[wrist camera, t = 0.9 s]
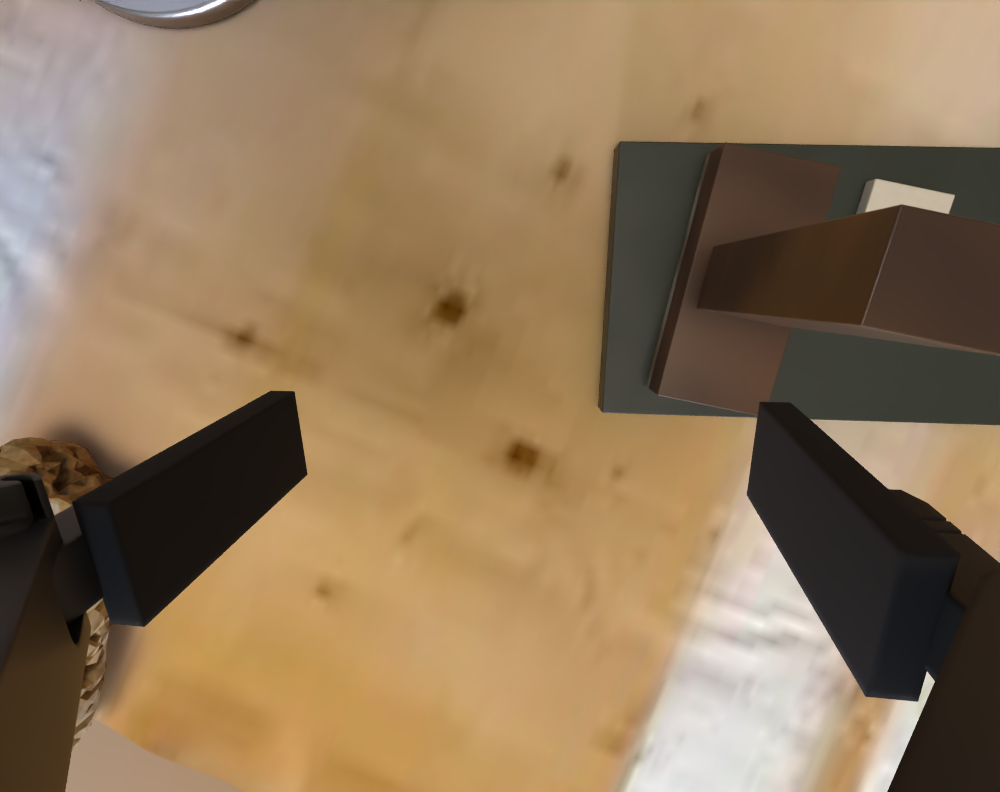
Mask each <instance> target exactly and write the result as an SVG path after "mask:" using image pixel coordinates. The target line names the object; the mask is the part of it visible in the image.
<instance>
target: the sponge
mask: <svg viewBox="0 0 1000 792" xmlns="http://www.w3.org/2000/svg"><path fill="white" fill-rule="evenodd" d="M16 473H36V474H39V475H41V477H42V480H43V483H44V486H45V489H46V492H47V495H48V498H49V501H50V504H51V507H52V510H53V513H54V515H56V514H58V513H60V512H61V511H63V510H65V509H67V508H68V507H70V506H72V505H73V504H72V501H74V500H76V499H78V498H79V497H81V496H83V495H85V494H87V493H88V492H90V491H92V490H94V489H96V488H97V487H99V486H101V485H103V484H105V483H106V482H108V481H110V480H112V479H113V478H110V477H107V476H104V475H103V473H102V472H101V471H100V470H99V469H98V468H97V466H96V463H95V461H94V459H93V458H92V456H91V454H90V453H89V451H88V449H86V448H83V447H81V446H79V445H77V444H76V443H72V442H64V441H57V440H54V441H47V440H45V439H40V438H30V437H29V438H22V439H15V440H12V441H10V442H8V443H7V444H5V445H3V446H1V447H0V476H3V475H9V474H16ZM86 612H87V615H88V618H89V621H90V624H91V633H90V639H89V646H88V652H87V658H86V664H85V671H84V677H83V683H82V689H81V695H80V702H79V708H78V714H77V720H76V727H75V733H74V739H73V745H72V749H73V748H74V747H76V746H77V744H78V742H79V741H80V739H81V737H82V736H83V735H84V733H85V732H86V731H87V729H88V728H89V727H90V726H91V723H92V719H93V715H94V713H95V710H96V707H97V703H98V699H99V695H100V690H101V686H102V684H103V681H104V671H105V668H106V641H107V639H108V634H109V629H110V624H111V623H110V620H109V617H108V614H107V611H106V608H105V605H104V602H103V598H102V599H101V600H100V601H98V602H97V603H96V604H95V605H93V606H92V607H91V608H90V609H88V610H87V611H86Z"/></svg>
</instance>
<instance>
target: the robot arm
mask: <svg viewBox="0 0 1000 792" xmlns="http://www.w3.org/2000/svg"><path fill="white" fill-rule="evenodd" d="M79 1H81V0H79ZM93 1H94V2H96V3H97V4H99V5H101V6H102V7H104V8H105V9H107V10H109V11H111V12H113V13H115V14H117V15H119V16H122V17H124V18H127V19H129V20H131V21H135V22H138V23H142V24H145V25H151V26H156V27H165V28H189V27H195V26H201V25H205V24H209V23H212V22H216V21H218V20H221V19H223V18H226V17H228V16H230V15H232V14H234V13H236V12H238V11H239V10H241V9H243V8H244V7H246V6H247V5H248V4H250V3H251V2H253V1H254V0H93ZM306 475H307V469H306V462H305V456H304V449H303V443H302V437H301V430H300V424H299V418H298V411H297V405H296V398H295V392H294V391H270V392H268V393H266V394H264V395H262V396H261V397H259V398H257V399H255V400H254V401H252V402H250V403H248V404H246V405H245V406H243V407H241V408H239V409H237V410H236V411H234V412H232V413H230V414H228V415H227V416H225V417H223V418H221V419H219V420H218V421H216V422H214V423H212V424H210V425H209V426H207V427H205V428H203V429H201V430H200V431H198V432H196V433H194V434H192V435H191V436H189V437H187V438H185V439H184V440H182V441H180V442H178V443H176V444H175V445H173V446H171V447H169V448H167V449H166V450H164V451H162V452H160V453H158V454H157V455H155V456H153V457H151V458H149V459H148V460H146V461H144V462H142V463H140V464H139V465H137V466H135V467H133V468H131V469H130V470H128V471H126V472H124V473H123V474H121V475H119V476H117V477H115V478H114V479H112V480H110V481H108V482H106V483H105V484H103V485H101V486H99V487H97V488H96V489H94V490H92V491H90V492H88V493H87V494H85V495H83V496H81V497H79V498H78V499H76V500H74V501H72V504H73V505H72V506H70V507H68V508H67V509H65V510H63V511H61V512H60V513H58V514H56V515H54V513H53V510H52V507H51V504H50V501H49V498H48V495H47V492H46V489H45V486H44V483H43V480H42V477H41V475H39V474H36V473H16V474H9V475H3V476H0V792H65V789H66V783H67V776H68V770H69V764H70V758H71V752H72V745H73V739H74V733H75V727H76V720H77V714H78V708H79V702H80V695H81V689H82V683H83V677H84V671H85V664H86V658H87V652H88V646H89V639H90V633H91V624H90V621H89V618H88V615H87V612H86V611H87V610H88V609H90V608H91V607H92V606H93V605H95V604H96V603H97V602H98V601H100V600H101V599H102V598H103V602H104V605H105V608H106V611H107V614H108V617H109V620H110V623H111V624H121V625H132V626H142V627H145V626H146V625H147V624H148V623H149V622H150V621H151V620H152V619H153V618H154V617H155V616H156V615H158V614H159V613H160V612H161V611H162V610H163V609H164V608H165V607H166V606H167V605H168V604H169V603H170V602H171V601H173V600H174V599H175V598H176V597H177V596H178V595H179V594H180V593H181V592H182V591H183V590H184V589H185V588H186V587H187V586H189V585H190V584H191V583H192V582H193V581H194V580H195V579H196V578H197V577H198V576H199V575H200V574H201V573H202V572H204V571H205V570H206V569H207V568H208V567H209V566H210V565H211V564H212V563H213V562H214V561H215V560H216V559H217V558H219V557H220V556H221V555H222V554H223V553H224V552H225V551H226V550H227V549H228V548H229V547H230V546H231V545H232V544H234V543H235V542H236V541H237V540H238V539H239V538H240V537H241V536H242V535H243V534H244V533H245V532H246V531H247V530H248V529H250V528H251V527H252V526H253V525H254V524H255V523H256V522H257V521H258V520H259V519H260V518H261V517H262V516H263V515H265V514H266V513H267V512H268V511H269V510H270V509H271V508H272V507H273V506H274V505H275V504H276V503H277V502H278V501H280V500H281V499H282V498H283V497H284V496H285V495H286V494H287V493H288V492H289V491H290V490H291V489H292V488H293V487H295V486H296V485H297V484H298V483H299V482H300V481H301V480H302V479H303V478H304V477H305V476H306ZM747 496H748V498H749V499H750V501H751V503H752V504H753V506H754V508H755V510H756V511H757V513H758V515H759V516H760V518H761V520H762V521H763V523H764V525H765V527H766V528H767V530H768V532H769V533H770V535H771V537H772V538H773V540H774V542H775V543H776V545H777V547H778V549H779V550H780V552H781V554H782V555H783V557H784V559H785V560H786V562H787V564H788V566H789V567H790V569H791V571H792V572H793V574H794V576H795V577H796V579H797V581H798V583H799V584H800V586H801V588H802V589H803V591H804V593H805V594H806V596H807V598H808V599H809V601H810V603H811V605H812V606H813V608H814V610H815V611H816V613H817V615H818V616H819V618H820V620H821V622H822V623H823V625H824V627H825V628H826V630H827V632H828V633H829V635H830V637H831V639H832V640H833V642H834V644H835V645H836V647H837V649H838V650H839V652H840V654H841V656H842V657H843V659H844V661H845V662H846V664H847V666H848V667H849V669H850V671H851V672H852V674H853V676H854V678H855V679H856V681H857V683H858V684H859V686H860V688H861V689H862V691H863V693H864V695H865V696H866V697H876V698H886V699H896V700H907V701H917V702H918V700H919V696H920V693H921V689H922V686H923V683H924V679H925V676H926V672H927V671H928V673H929V674H930V675H931V677H932V678H933V679H934V681H935V683H934V685H933V687H932V690H931V692H930V694H929V697H928V699H927V701H926V704H925V706H924V708H923V711H922V713H921V715H920V717H919V720H918V722H917V724H916V727H915V729H914V731H913V734H912V736H911V738H910V741H909V743H908V745H907V748H906V750H905V752H904V755H903V757H902V759H901V761H900V764H899V766H898V768H897V771H896V773H895V775H894V778H893V780H892V782H891V785H890V787H889V789H888V792H1000V563H999V562H998V561H997V560H995V559H994V558H993V557H992V556H991V555H989V554H988V553H987V552H986V551H985V550H983V549H982V548H981V547H980V546H979V545H977V544H976V543H975V542H974V541H972V540H971V539H970V538H969V537H968V536H966V535H964V534H961V531H960V530H959V529H958V528H957V527H956V526H954V525H953V524H952V523H951V522H948V521H946V518H945V517H944V516H942V515H941V514H940V513H939V512H938V511H936V510H935V509H934V508H933V507H932V506H930V505H929V504H928V503H926V502H924V501H922V500H920V499H918V498H916V497H914V496H912V495H910V494H908V493H906V492H904V491H902V490H889V489H887V488H886V487H885V486H884V485H883V484H882V483H881V482H879V481H878V480H877V479H876V478H875V477H874V476H873V475H872V474H870V473H869V472H868V471H867V470H866V469H865V468H864V467H863V466H861V465H860V464H859V463H858V462H857V461H856V460H855V459H854V458H853V457H851V456H850V455H849V454H848V453H847V452H846V451H845V450H844V449H842V448H841V447H840V446H839V445H838V444H837V443H836V442H835V441H833V440H832V439H831V438H830V437H829V436H828V435H827V434H826V433H825V432H823V431H822V430H821V429H820V428H819V427H818V426H817V425H816V424H814V423H813V422H812V421H811V420H810V419H809V418H808V417H807V416H805V415H804V414H803V413H802V412H801V411H800V410H799V409H798V408H797V407H795V406H794V405H793V404H792V403H791V402H759V410H758V417H757V425H756V432H755V439H754V447H753V454H752V461H751V469H750V476H749V483H748V491H747Z"/></svg>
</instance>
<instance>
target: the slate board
mask: <svg viewBox="0 0 1000 792" xmlns="http://www.w3.org/2000/svg"><path fill="white" fill-rule="evenodd" d="M722 144H724V143H682V142H623V141H621V142H619V144H618V145H617V147H616V148H615V150H614V164H613V180H612V196H611V212H610V228H609V244H608V260H607V276H606V292H605V308H604V324H603V340H602V356H601V372H600V388H599V404H598V407H599V408H600V410H601V411H602V412H603V413H626V414H658V415H690V416H722V417H754V418H757V417H758V416H757V415H752V414H747V413H742V412H737V411H732V410H727V409H723V408H718V407H713V406H708V405H703V404H698V403H693V402H688V401H683V400H679V399H674V398H669V397H664V396H659V395H657V394H656V393H654V392H653V391H652V390H650V389H649V388H648V387H646V383H647V379H648V376H649V372H650V368H651V364H652V360H653V357H654V353H655V349H656V345H657V341H658V337H659V334H660V330H661V326H662V322H663V318H664V315H665V311H666V307H667V303H668V299H669V295H670V292H671V288H672V284H673V280H674V276H675V272H676V269H677V265H678V261H679V257H680V253H681V250H682V246H683V242H684V238H685V234H686V230H687V227H688V223H689V219H690V215H691V211H692V207H693V204H694V200H695V196H696V192H697V188H698V185H699V181H700V177H701V173H702V169H703V165H704V162H705V158H706V156H707V155H708V154H710V153H711V152H712V151H714V150H715V149H717V148H718V147H719V146H721V145H722ZM730 144H734V145H739V146H744V147H749V148H754V149H758V150H763V151H768V152H773V153H778V154H782V155H787V156H792V157H797V158H802V159H806V160H811V161H816V162H821V163H826V164H830V165H835V166H840V167H842V168H841V171H840V175H839V178H838V181H837V184H836V187H835V191H834V194H833V197H832V200H831V203H830V207H829V210H828V213H827V216H826V220H825V221H829V220H834V219H838V218H843V217H847V216H851V215H856V212H857V209H858V206H859V203H860V200H861V197H862V194H863V190H864V187H865V184H866V182H868V181H871V180H874V179H880V180H885V181H890V182H895V183H899V184H904V185H909V186H914V187H919V188H923V189H928V190H933V191H938V192H943V193H947V194H952V195H955V197H954V200H953V203H952V206H951V209H950V211H949V214H951V215H956V216H961V217H965V218H970V219H975V220H980V221H985V222H990V223H994V224H999V225H1000V148H975V147H917V146H858V145H799V144H741V143H730ZM769 402H791V403H792V404H793V405H794V406H795V407H797V408H798V409H799V410H800V411H801V412H802V413H803V414H804V415H805V416H807V417H808V418H809V419H818V420H850V421H882V422H914V423H947V424H979V425H1000V356H997V355H990V354H983V353H975V352H968V351H961V350H953V349H946V348H939V347H931V346H924V345H917V344H909V343H902V342H895V341H887V340H880V339H872V338H865V337H858V336H850V335H843V334H836V333H828V332H821V331H814V330H806V329H799V328H792V329H791V332H790V335H789V338H788V342H787V345H786V348H785V351H784V354H783V358H782V361H781V364H780V367H779V371H778V374H777V377H776V380H775V383H774V387H773V390H772V393H771V396H770V399H769Z"/></svg>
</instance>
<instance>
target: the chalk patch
mask: <svg viewBox="0 0 1000 792" xmlns="http://www.w3.org/2000/svg"><path fill="white" fill-rule="evenodd" d="M954 197H955V195H952V194H947V193H943V192H938V191H933V190H928V189H923V188H919V187H914V186H909V185H904V184H899V183H895V182H890V181H885V180H880V179H874V180H871V181H868V182H866V184H865V187H864V190H863V194H862V197H861V200H860V203H859V206H858V209H857V212H856V214H860V213H865V212H869V211H874V210H878V209H883V208H887V207H892V206H896V205H901V204H903V205H908V206H913V207H917V208H922V209H927V210H932V211H937V212H941V213H946V214H949V211H950V209H951V206H952V203H953V200H954Z"/></svg>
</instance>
